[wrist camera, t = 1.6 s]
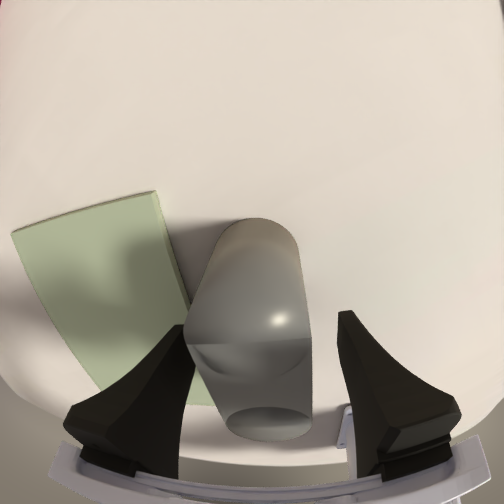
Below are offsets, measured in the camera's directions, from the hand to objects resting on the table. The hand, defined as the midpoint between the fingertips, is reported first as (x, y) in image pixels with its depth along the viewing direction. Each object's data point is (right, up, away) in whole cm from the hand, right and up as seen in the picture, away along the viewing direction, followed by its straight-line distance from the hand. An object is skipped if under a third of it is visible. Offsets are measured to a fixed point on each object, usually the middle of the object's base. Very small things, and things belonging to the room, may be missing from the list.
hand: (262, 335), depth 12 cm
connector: (0, 0, +3) cm, 3 cm away
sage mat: (-10, -1, +4) cm, 10 cm away
